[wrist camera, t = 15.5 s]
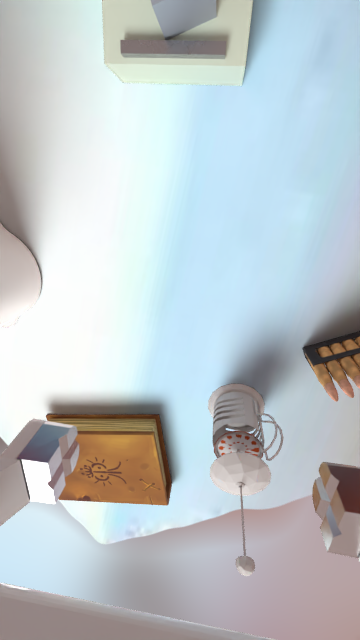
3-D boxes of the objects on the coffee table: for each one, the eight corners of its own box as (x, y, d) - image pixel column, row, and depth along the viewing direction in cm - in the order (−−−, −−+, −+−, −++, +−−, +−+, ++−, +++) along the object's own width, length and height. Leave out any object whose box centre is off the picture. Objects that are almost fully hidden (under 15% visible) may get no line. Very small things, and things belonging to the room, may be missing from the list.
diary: (72, 477, 67) (59, 502, 62) (48, 412, 60) (31, 433, 54) (172, 482, 63) (167, 509, 58) (159, 412, 56) (152, 436, 50)
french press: (197, 397, 52) (177, 557, 30) (255, 369, 49) (284, 528, 26) (226, 435, 55) (229, 608, 32) (284, 411, 51) (333, 589, 28)
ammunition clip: (305, 357, 46) (330, 408, 36) (302, 347, 46) (326, 396, 35) (379, 336, 44) (431, 386, 33) (377, 326, 43) (429, 372, 32)
